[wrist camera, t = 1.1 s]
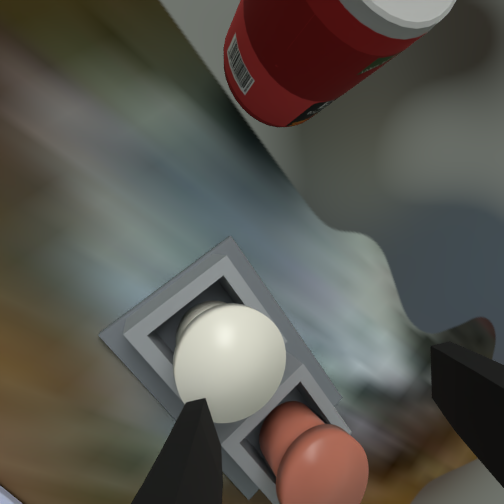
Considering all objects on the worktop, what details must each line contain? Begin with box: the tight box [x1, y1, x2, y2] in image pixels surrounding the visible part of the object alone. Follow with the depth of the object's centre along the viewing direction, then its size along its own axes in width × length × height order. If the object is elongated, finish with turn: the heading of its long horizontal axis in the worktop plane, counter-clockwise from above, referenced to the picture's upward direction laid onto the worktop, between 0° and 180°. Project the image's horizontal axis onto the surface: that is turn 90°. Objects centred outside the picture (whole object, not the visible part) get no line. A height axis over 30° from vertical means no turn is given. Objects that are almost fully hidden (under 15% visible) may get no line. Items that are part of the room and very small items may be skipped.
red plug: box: [259, 401, 369, 504], centre depth 17 cm, size 5×5×4 cm
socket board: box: [98, 236, 351, 504], centre depth 19 cm, size 10×16×4 cm, turn 36°
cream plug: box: [173, 300, 286, 423], centre depth 15 cm, size 5×5×4 cm
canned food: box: [224, 0, 456, 127], centre depth 16 cm, size 8×8×11 cm
